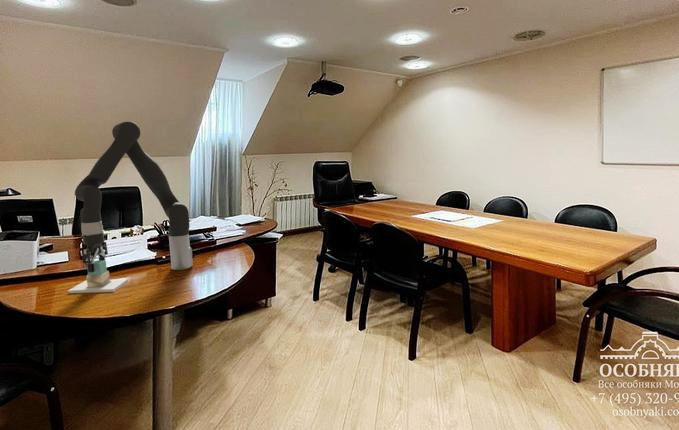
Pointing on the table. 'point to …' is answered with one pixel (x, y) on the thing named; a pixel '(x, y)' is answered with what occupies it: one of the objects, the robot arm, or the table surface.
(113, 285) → the board
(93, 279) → the birch block
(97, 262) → the teal cube
